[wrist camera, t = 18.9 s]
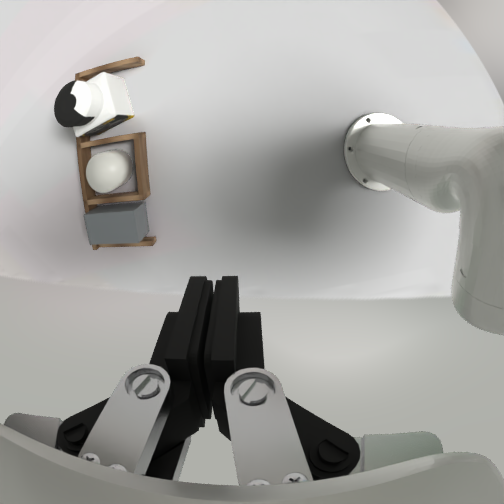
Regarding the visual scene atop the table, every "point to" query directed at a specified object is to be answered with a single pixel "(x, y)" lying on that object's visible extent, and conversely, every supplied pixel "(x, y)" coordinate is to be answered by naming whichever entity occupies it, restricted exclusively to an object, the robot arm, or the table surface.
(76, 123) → the medicine bottle
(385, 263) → the table surface
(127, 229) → the grey rectangular block
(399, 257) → the table surface
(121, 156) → the white rounded lump
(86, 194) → the wooden compartment tray
